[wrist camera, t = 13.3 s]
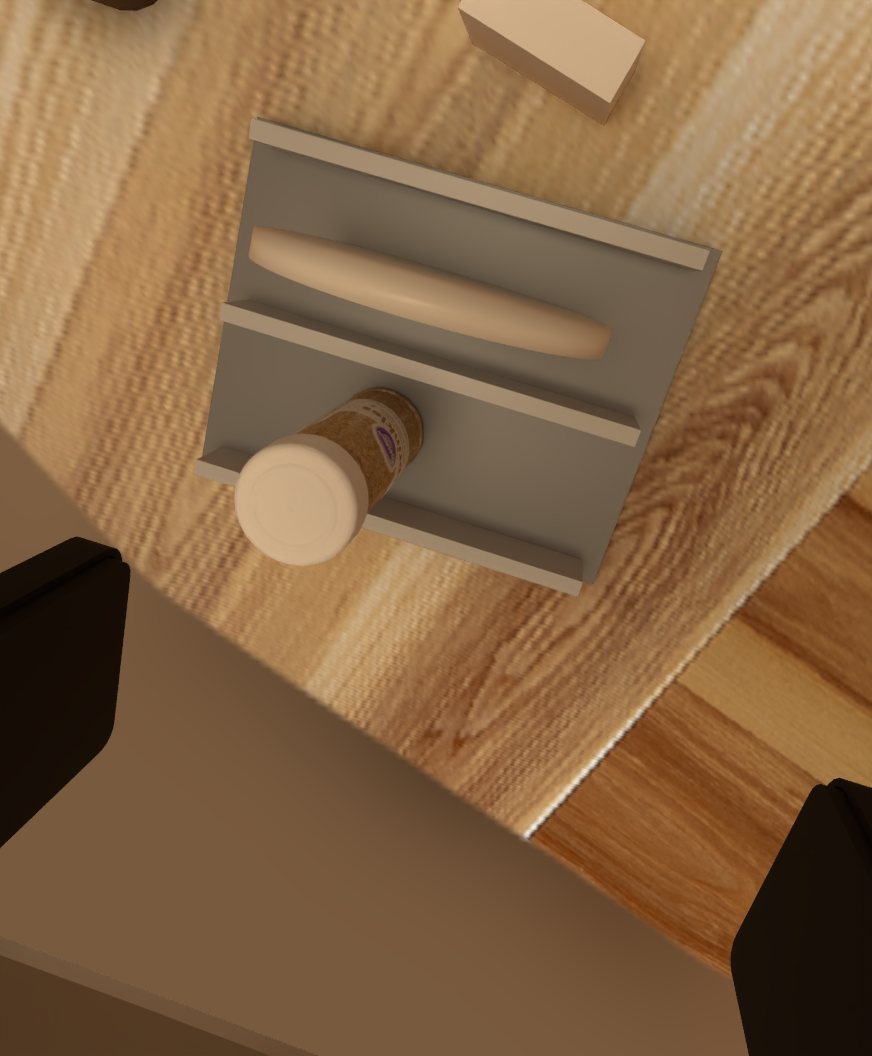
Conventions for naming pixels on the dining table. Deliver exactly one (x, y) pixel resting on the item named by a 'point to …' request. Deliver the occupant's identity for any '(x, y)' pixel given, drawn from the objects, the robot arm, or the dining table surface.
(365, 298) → the dish rack
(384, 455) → the sprinkles bottle
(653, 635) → the dining table surface
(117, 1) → the dark brown tapered cylinder
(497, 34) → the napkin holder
